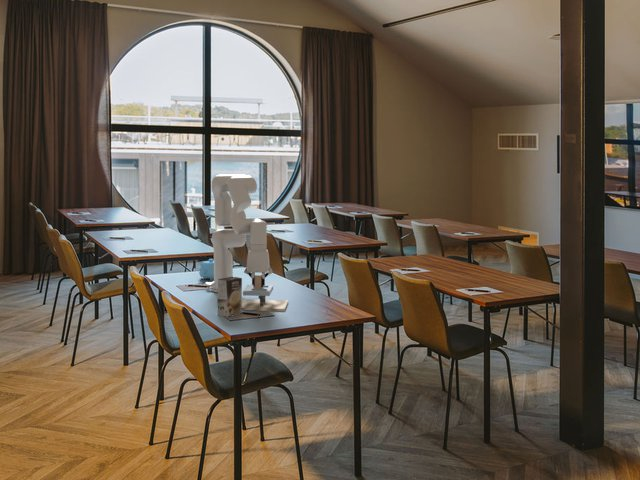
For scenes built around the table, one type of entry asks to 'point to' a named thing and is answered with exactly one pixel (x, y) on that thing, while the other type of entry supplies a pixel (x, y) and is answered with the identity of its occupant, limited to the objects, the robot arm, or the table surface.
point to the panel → (258, 288)
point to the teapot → (207, 269)
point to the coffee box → (229, 296)
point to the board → (264, 304)
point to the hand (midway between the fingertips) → (258, 286)
